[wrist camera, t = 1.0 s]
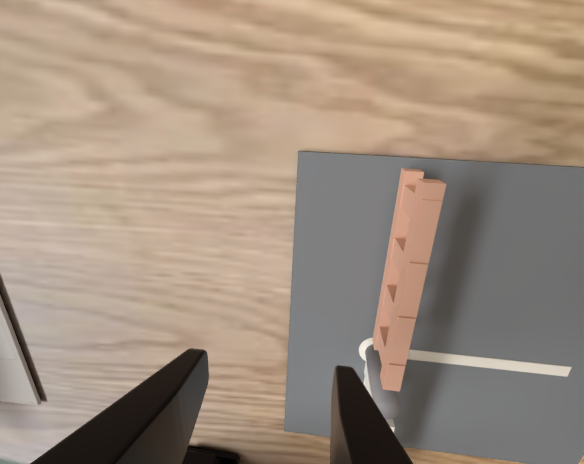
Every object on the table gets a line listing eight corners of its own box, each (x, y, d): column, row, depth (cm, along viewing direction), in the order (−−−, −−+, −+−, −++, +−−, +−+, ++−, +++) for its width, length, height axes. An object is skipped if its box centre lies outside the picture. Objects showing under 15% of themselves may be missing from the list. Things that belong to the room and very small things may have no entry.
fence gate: (384, 361, 21) (398, 420, 17) (363, 359, 21) (373, 417, 17) (421, 168, 16) (453, 184, 12) (395, 166, 16) (418, 182, 12)
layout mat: (572, 465, 23) (575, 470, 23) (284, 427, 25) (284, 431, 25) (732, 175, 15) (741, 176, 15) (298, 150, 17) (298, 151, 17)
